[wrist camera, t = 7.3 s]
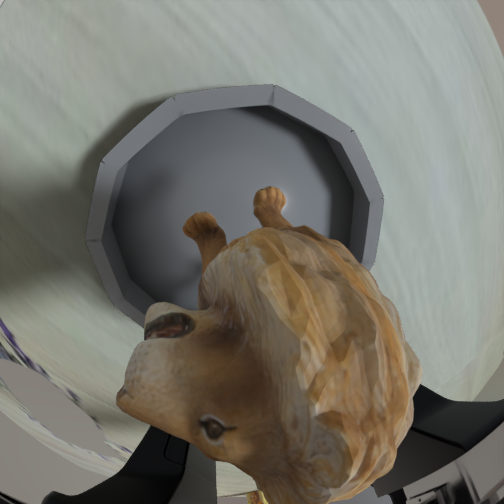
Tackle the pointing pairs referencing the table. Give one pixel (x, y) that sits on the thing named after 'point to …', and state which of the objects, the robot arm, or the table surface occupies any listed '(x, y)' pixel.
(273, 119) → the round dish
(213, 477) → the robot arm
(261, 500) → the candy box
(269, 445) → the lion figurine
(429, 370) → the table surface
